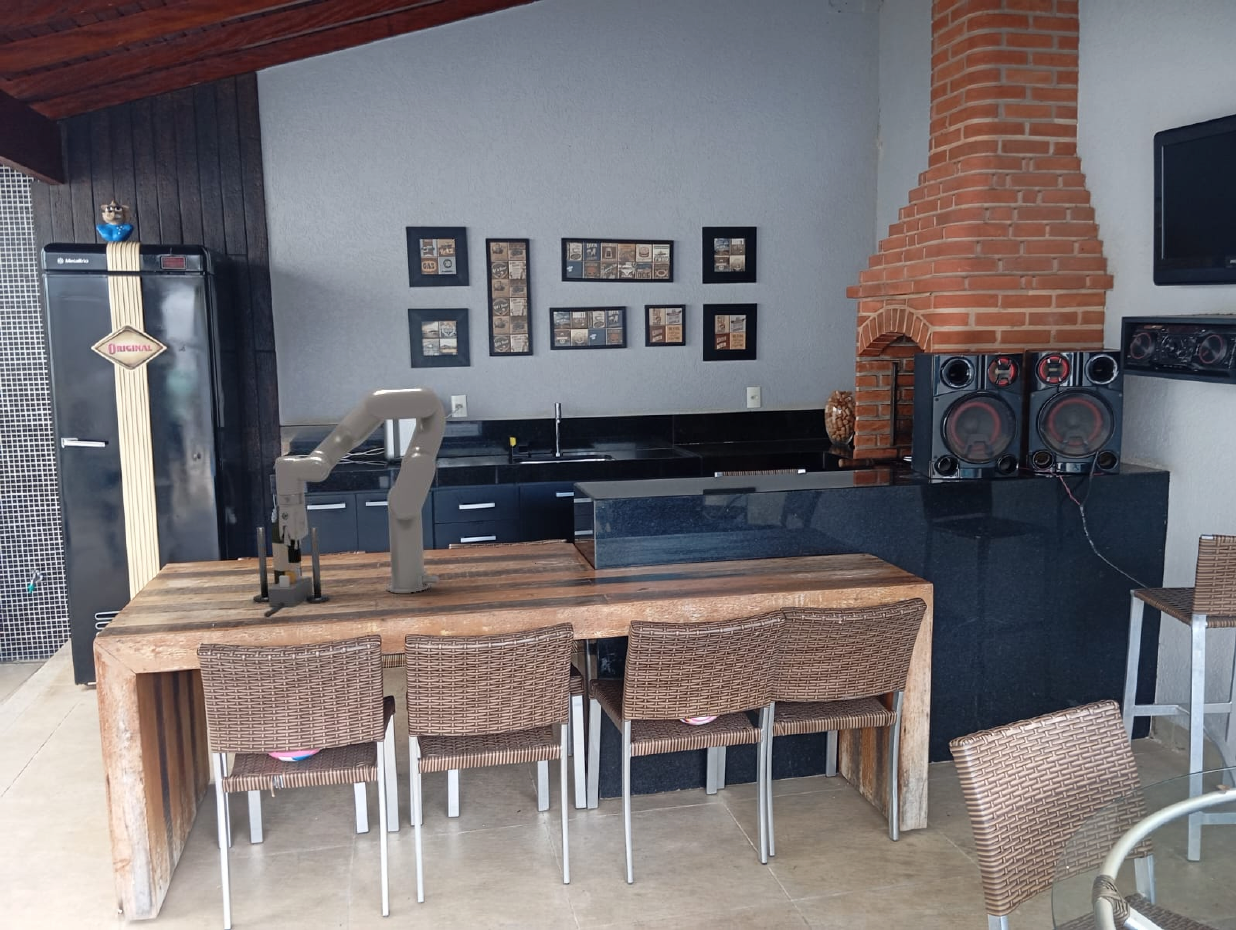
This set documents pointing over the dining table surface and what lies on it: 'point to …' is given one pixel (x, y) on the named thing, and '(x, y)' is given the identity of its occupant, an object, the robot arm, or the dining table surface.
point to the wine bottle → (281, 554)
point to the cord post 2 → (316, 570)
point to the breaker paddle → (290, 576)
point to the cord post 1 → (262, 567)
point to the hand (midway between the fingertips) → (294, 562)
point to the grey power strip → (289, 592)
